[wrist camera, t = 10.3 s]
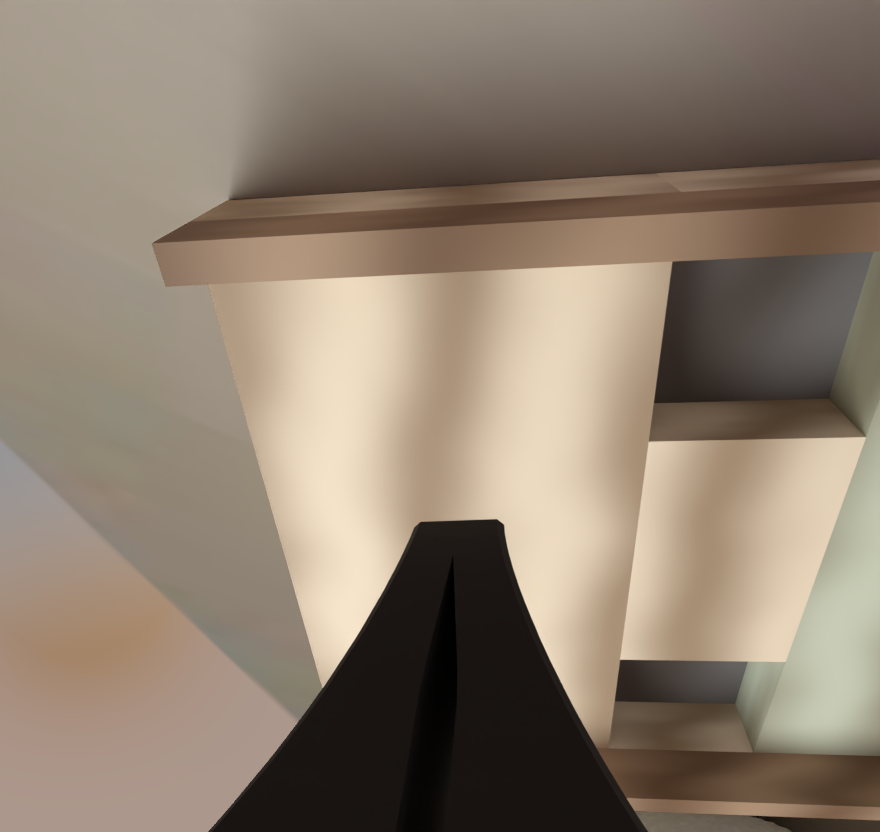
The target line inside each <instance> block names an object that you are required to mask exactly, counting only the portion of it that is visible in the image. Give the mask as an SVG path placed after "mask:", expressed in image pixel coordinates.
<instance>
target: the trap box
mask: <svg viewBox="0 0 880 832" xmlns="http://www.w3.org/2000/svg"><path fill="white" fill-rule="evenodd" d="M152 246H153V249H154V252H155V255H156V258H157V261H158V264H159V267H160V270H161V274H162V277H163V280H164V283H165V286H186V285H206V284H208V287H209V290H210V294H211V297H212V301H213V304H214V308H215V311H216V315H217V318H218V322H219V325H220V329H221V332H222V336H223V340H224V343H225V347H226V350H227V354H228V357H229V361H230V364H231V368H232V371H233V375H234V378H235V382H236V385H237V389H238V392H239V396H240V399H241V403H242V406H243V410H244V413H245V417H246V420H247V424H248V427H249V431H250V435H251V438H252V442H253V445H254V449H255V452H256V456H257V459H258V463H259V466H260V470H261V473H262V477H263V480H264V484H265V487H266V491H267V494H268V498H269V501H270V505H271V508H272V512H273V515H274V519H275V523H276V526H277V530H278V533H279V537H280V540H281V544H282V547H283V551H284V554H285V558H286V561H287V565H288V568H289V572H290V575H291V579H292V582H293V586H294V589H295V593H296V596H297V600H298V603H299V607H300V610H301V614H302V618H303V621H304V625H305V628H306V632H307V635H308V639H309V642H310V646H311V649H312V653H313V656H314V660H315V663H316V667H317V670H318V674H319V677H320V681H321V684H322V688H323V687H324V686H325V684H326V683H327V681H328V680H329V678H330V677H331V675H332V674H333V672H334V670H335V669H336V667H337V666H338V664H339V663H340V661H341V660H342V658H343V657H344V655H345V654H346V652H347V651H348V649H349V648H350V646H351V645H352V643H353V642H354V640H355V638H356V637H357V635H358V634H359V632H360V630H361V629H362V627H363V625H364V623H365V622H366V620H367V618H368V617H369V615H370V613H371V611H372V610H373V608H374V606H375V604H376V603H377V601H378V599H379V598H380V596H381V594H382V592H383V591H384V589H385V587H386V585H387V583H388V581H389V579H390V577H391V576H392V574H393V572H394V570H395V568H396V566H397V564H398V562H399V560H400V558H401V556H402V554H403V552H404V550H405V548H406V545H407V543H408V541H409V539H410V537H411V534H412V532H413V529H414V527H415V526H416V525H418V524H419V523H420V522H428V521H456V520H485V519H498V520H499V521H500V522H501V523H503V524H504V528H505V537H506V543H507V548H508V552H509V556H510V559H511V563H512V566H513V569H514V573H515V576H516V579H517V582H518V585H519V588H520V590H521V593H522V596H523V598H524V601H525V604H526V606H527V608H528V611H529V613H530V616H531V618H532V620H533V623H534V625H535V627H536V630H537V632H538V635H539V637H540V639H541V642H542V644H543V646H544V648H545V650H546V652H547V655H548V657H549V659H550V661H551V663H552V665H553V667H554V669H555V671H556V673H557V675H558V677H559V679H560V681H561V683H562V685H563V687H564V689H565V691H566V693H567V695H568V697H569V699H570V701H571V703H572V705H573V707H574V708H575V710H576V712H577V714H578V716H579V718H580V720H581V721H582V723H583V725H584V727H585V729H586V730H587V732H588V734H589V736H590V737H591V739H592V741H593V743H594V744H595V746H596V748H597V750H598V751H599V753H600V755H601V757H602V758H603V760H604V762H605V764H606V765H607V767H608V769H609V770H610V772H611V773H612V775H613V777H614V778H615V780H616V782H617V783H618V785H619V787H620V788H621V790H622V792H623V793H624V795H625V796H626V798H627V800H628V801H629V803H630V805H631V806H632V808H633V809H634V811H646V812H672V813H698V814H724V815H750V816H776V817H802V818H828V819H854V820H880V159H874V160H858V161H842V162H827V163H811V164H795V165H779V166H764V167H748V168H732V169H716V170H701V171H685V172H669V173H653V174H638V175H622V176H606V177H590V178H575V179H559V180H543V181H527V182H512V183H496V184H480V185H464V186H449V187H433V188H417V189H401V190H386V191H370V192H354V193H338V194H323V195H307V196H291V197H275V198H259V199H244V200H228V201H225V202H224V203H222V204H220V205H218V206H217V207H215V208H213V209H211V210H210V211H208V212H206V213H204V214H203V215H201V216H199V217H197V218H196V219H194V220H192V221H190V222H189V223H187V224H185V225H183V226H181V227H180V228H178V229H176V230H174V231H173V232H171V233H169V234H167V235H166V236H164V237H162V238H160V239H159V240H157V241H155V242H153V243H152Z"/></svg>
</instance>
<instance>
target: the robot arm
mask: <svg viewBox="0 0 880 832" xmlns="http://www.w3.org/2000/svg"><path fill="white" fill-rule="evenodd" d="M209 832H648V831H647V829H646V828H645V826H644V825H643V823H642V822H641V820H640V819H639V817H638V816H637V814H636V813H635V811H634V809H633V808H632V806H631V805H630V803H629V801H628V800H627V798H626V796H625V795H624V793H623V792H622V790H621V788H620V787H619V785H618V783H617V782H616V780H615V778H614V777H613V775H612V773H611V772H610V770H609V769H608V767H607V765H606V764H605V762H604V760H603V758H602V757H601V755H600V753H599V751H598V750H597V748H596V746H595V744H594V743H593V741H592V739H591V737H590V736H589V734H588V732H587V730H586V729H585V727H584V725H583V723H582V721H581V720H580V718H579V716H578V714H577V712H576V710H575V708H574V707H573V705H572V703H571V701H570V699H569V697H568V695H567V693H566V691H565V689H564V687H563V685H562V683H561V681H560V679H559V677H558V675H557V673H556V671H555V669H554V667H553V665H552V663H551V661H550V659H549V657H548V655H547V652H546V650H545V648H544V646H543V644H542V642H541V639H540V637H539V635H538V632H537V630H536V627H535V625H534V623H533V620H532V618H531V616H530V613H529V611H528V608H527V606H526V604H525V601H524V598H523V596H522V593H521V590H520V588H519V585H518V582H517V579H516V576H515V573H514V569H513V566H512V563H511V559H510V556H509V552H508V548H507V543H506V537H505V528H504V524H503V523H501V522H500V521H499V520H498V519H485V520H456V521H428V522H420V523H419V524H418V525H416V526H415V527H414V529H413V532H412V534H411V537H410V539H409V541H408V543H407V545H406V548H405V550H404V552H403V554H402V556H401V558H400V560H399V562H398V564H397V566H396V568H395V570H394V572H393V574H392V576H391V577H390V579H389V581H388V583H387V585H386V587H385V589H384V591H383V592H382V594H381V596H380V598H379V599H378V601H377V603H376V604H375V606H374V608H373V610H372V611H371V613H370V615H369V617H368V618H367V620H366V622H365V623H364V625H363V627H362V629H361V630H360V632H359V634H358V635H357V637H356V638H355V640H354V642H353V643H352V645H351V646H350V648H349V649H348V651H347V652H346V654H345V655H344V657H343V658H342V660H341V661H340V663H339V664H338V666H337V667H336V669H335V670H334V672H333V674H332V675H331V677H330V678H329V680H328V681H327V683H326V684H325V686H324V687H323V689H322V690H321V691H320V693H319V694H318V696H317V697H316V698H315V700H314V701H313V703H312V704H311V705H310V707H309V708H308V710H307V711H306V712H305V714H304V715H303V716H302V718H301V719H300V720H299V722H298V723H297V725H296V726H295V727H294V728H293V730H292V731H291V732H290V734H289V735H288V736H287V738H286V739H285V740H284V741H283V743H282V744H281V746H280V747H279V748H278V749H277V751H276V752H275V753H274V754H273V756H272V757H271V758H270V759H269V761H268V762H267V763H266V764H265V765H264V767H263V768H262V769H261V771H260V772H259V773H258V774H257V775H256V776H255V778H254V779H253V780H252V781H251V782H250V784H249V785H248V786H247V787H246V788H245V790H244V791H243V792H242V793H241V795H240V796H239V797H238V798H237V799H236V800H235V802H234V803H233V804H232V805H231V807H230V808H229V809H228V810H227V811H226V812H225V813H224V814H223V816H222V817H221V818H220V819H219V820H218V821H217V823H216V824H215V825H214V826H213V827H212V828H211V829H210V830H209Z"/></svg>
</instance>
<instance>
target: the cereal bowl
mask: <svg viewBox="0 0 880 832" xmlns="http://www.w3.org/2000/svg"><path fill="white" fill-rule="evenodd" d="M635 813H636V814H637V816H638V817H639V819H640V820H641V822H642V823H643V825H644V826H645V828H646V829H647V831H648V832H791V831H790V830H789V829H787V828H784V827H781V826H778V825H776V824H775V823H773V822H768V821H764V820H762V819H760V818H754V817H751V816H749V815H724V814H698V813H672V812H646V811H635Z"/></svg>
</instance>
